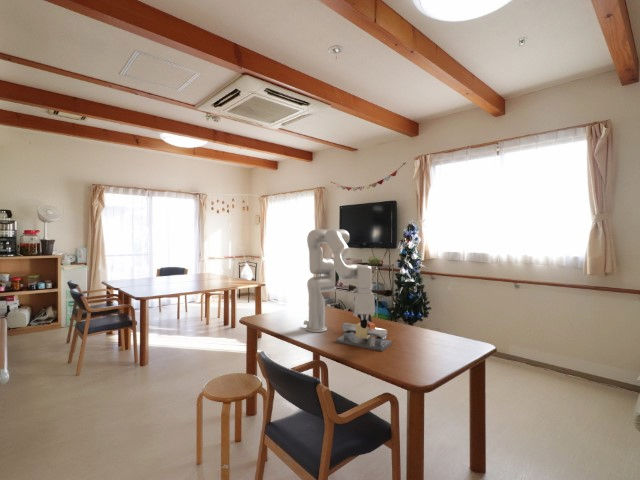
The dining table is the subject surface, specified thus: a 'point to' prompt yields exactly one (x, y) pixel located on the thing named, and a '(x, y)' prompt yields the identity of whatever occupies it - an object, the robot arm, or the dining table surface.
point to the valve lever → (371, 325)
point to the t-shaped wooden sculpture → (381, 292)
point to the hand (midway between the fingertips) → (363, 327)
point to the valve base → (364, 342)
